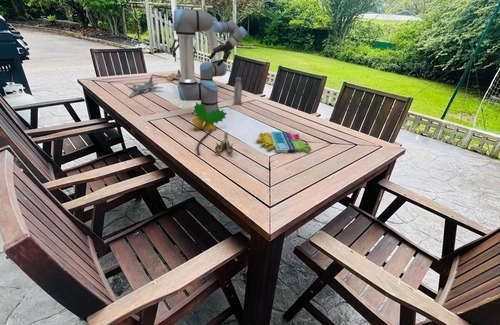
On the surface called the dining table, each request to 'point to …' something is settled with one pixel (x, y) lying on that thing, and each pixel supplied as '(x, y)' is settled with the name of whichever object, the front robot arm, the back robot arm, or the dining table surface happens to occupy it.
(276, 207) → the dining table surface
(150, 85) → the airplane
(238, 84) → the bottle
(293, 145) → the packaged fuzzy gloves
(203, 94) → the front robot arm
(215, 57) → the back robot arm
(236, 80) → the cap
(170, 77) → the toy
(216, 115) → the ornament
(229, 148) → the jawbone
